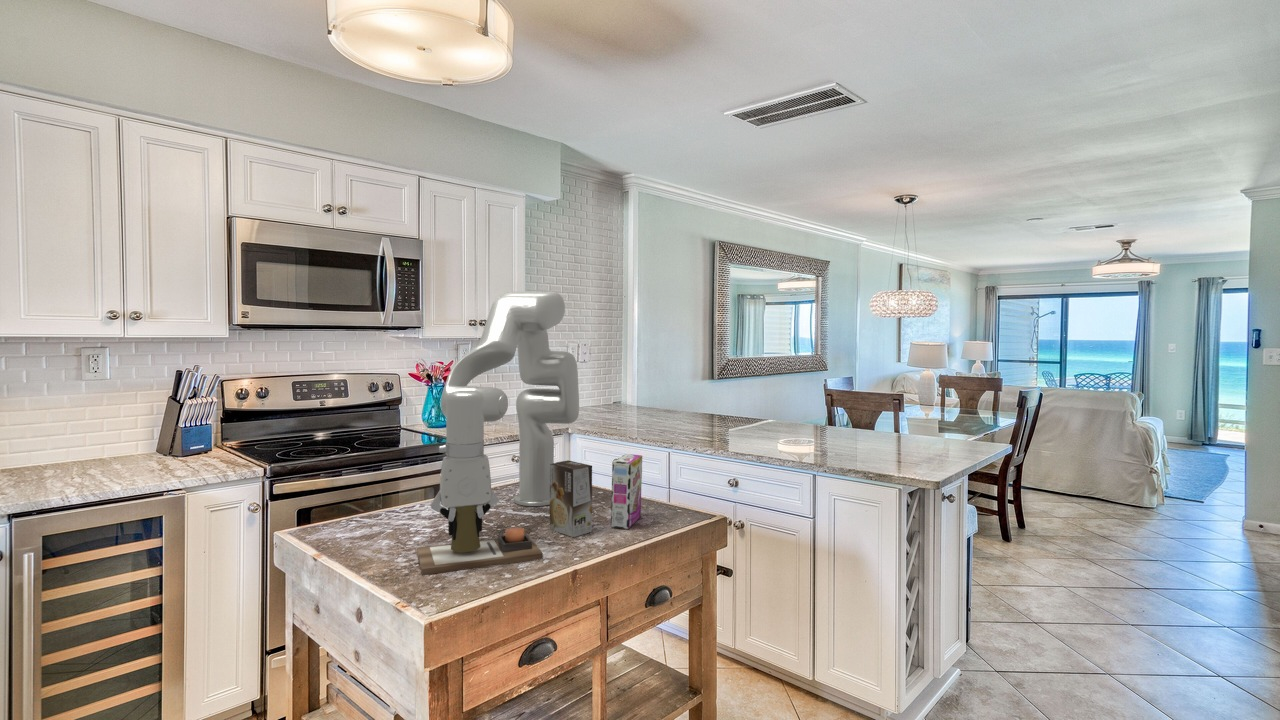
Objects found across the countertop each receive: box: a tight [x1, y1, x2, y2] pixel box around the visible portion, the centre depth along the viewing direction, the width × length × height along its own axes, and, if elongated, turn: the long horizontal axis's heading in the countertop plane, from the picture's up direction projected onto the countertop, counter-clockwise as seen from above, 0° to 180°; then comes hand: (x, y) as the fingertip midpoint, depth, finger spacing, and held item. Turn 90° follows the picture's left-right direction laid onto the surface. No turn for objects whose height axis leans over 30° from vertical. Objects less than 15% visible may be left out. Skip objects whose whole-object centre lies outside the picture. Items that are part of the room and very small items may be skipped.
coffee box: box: [549, 460, 593, 538], centre depth 150 cm, size 9×6×16 cm
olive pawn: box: [450, 505, 481, 552], centre depth 132 cm, size 6×6×11 cm
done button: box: [504, 526, 525, 542], centre depth 136 cm, size 4×4×2 cm
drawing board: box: [416, 532, 544, 576], centre depth 133 cm, size 13×24×3 cm, turn 114°
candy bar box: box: [610, 453, 643, 530], centre depth 157 cm, size 11×5×16 cm, turn 164°
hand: (465, 535), depth 132 cm, fingers closed on olive pawn, 3 cm apart
